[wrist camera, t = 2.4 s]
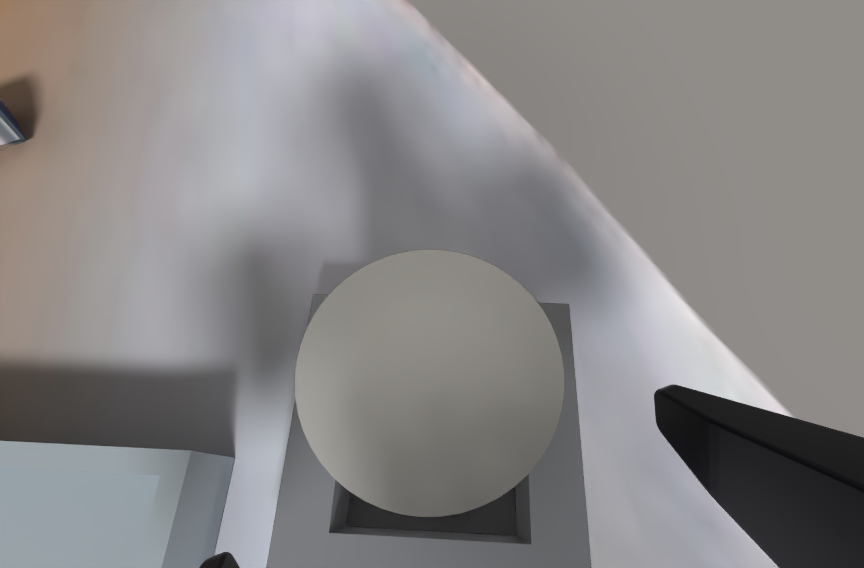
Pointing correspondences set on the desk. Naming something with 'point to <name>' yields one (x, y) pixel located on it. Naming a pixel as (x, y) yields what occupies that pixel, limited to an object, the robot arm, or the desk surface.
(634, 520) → the desk surface
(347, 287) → the light bulb
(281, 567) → the socket block
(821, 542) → the robot arm
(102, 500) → the tray
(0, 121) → the white long bar
